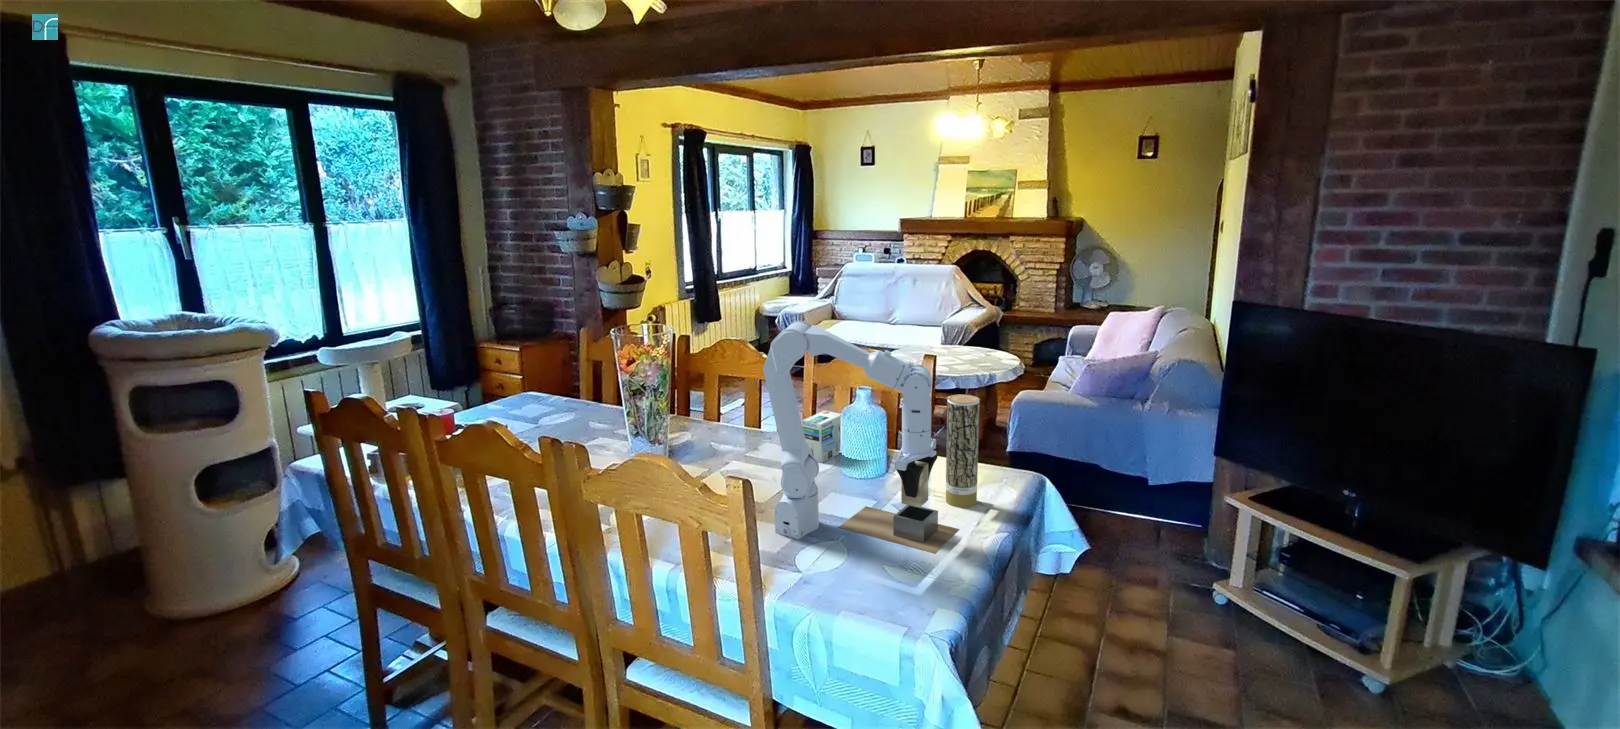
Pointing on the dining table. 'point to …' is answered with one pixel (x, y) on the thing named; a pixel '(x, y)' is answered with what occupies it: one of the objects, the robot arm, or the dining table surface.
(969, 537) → the dining table surface
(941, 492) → the dining table surface
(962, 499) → the paper tube
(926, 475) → the beige wooden block
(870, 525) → the plank
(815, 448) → the light bulb box
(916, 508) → the grey open box
